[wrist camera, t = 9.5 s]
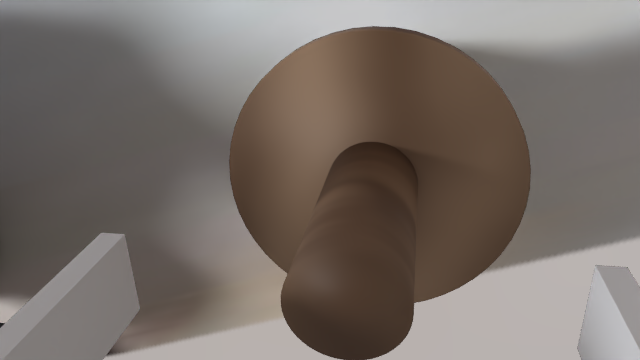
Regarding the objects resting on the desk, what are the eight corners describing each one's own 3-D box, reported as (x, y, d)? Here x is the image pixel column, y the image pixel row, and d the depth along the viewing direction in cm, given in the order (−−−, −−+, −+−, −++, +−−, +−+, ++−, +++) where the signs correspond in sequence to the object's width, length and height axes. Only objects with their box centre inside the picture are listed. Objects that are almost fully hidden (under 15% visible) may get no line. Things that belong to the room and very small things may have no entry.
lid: (251, 283, 26) (173, 440, 18) (220, 29, 21) (94, 90, 13) (510, 301, 24) (552, 488, 16) (544, 22, 19) (630, 90, 11)
